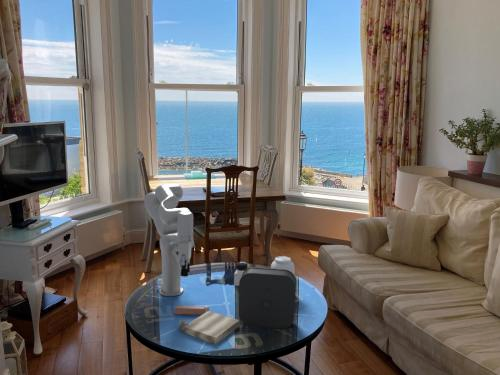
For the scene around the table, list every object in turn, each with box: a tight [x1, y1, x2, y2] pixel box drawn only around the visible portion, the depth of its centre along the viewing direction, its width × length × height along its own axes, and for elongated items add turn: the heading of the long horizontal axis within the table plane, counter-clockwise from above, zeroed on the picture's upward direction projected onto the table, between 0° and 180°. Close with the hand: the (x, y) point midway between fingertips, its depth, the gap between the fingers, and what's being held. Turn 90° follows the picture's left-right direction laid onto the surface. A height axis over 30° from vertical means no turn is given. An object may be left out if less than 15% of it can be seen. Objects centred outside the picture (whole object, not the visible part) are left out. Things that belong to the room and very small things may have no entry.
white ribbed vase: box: [270, 255, 296, 275], centre depth 230 cm, size 12×12×20 cm
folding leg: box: [173, 305, 210, 316], centre depth 207 cm, size 16×3×4 cm, turn 89°
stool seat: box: [178, 310, 240, 345], centre depth 193 cm, size 21×18×4 cm
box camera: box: [233, 261, 248, 287], centre depth 243 cm, size 7×7×12 cm
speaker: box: [238, 266, 297, 329], centre depth 197 cm, size 25×9×25 cm, turn 82°
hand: (185, 273), depth 211 cm, fingers open, 4 cm apart
